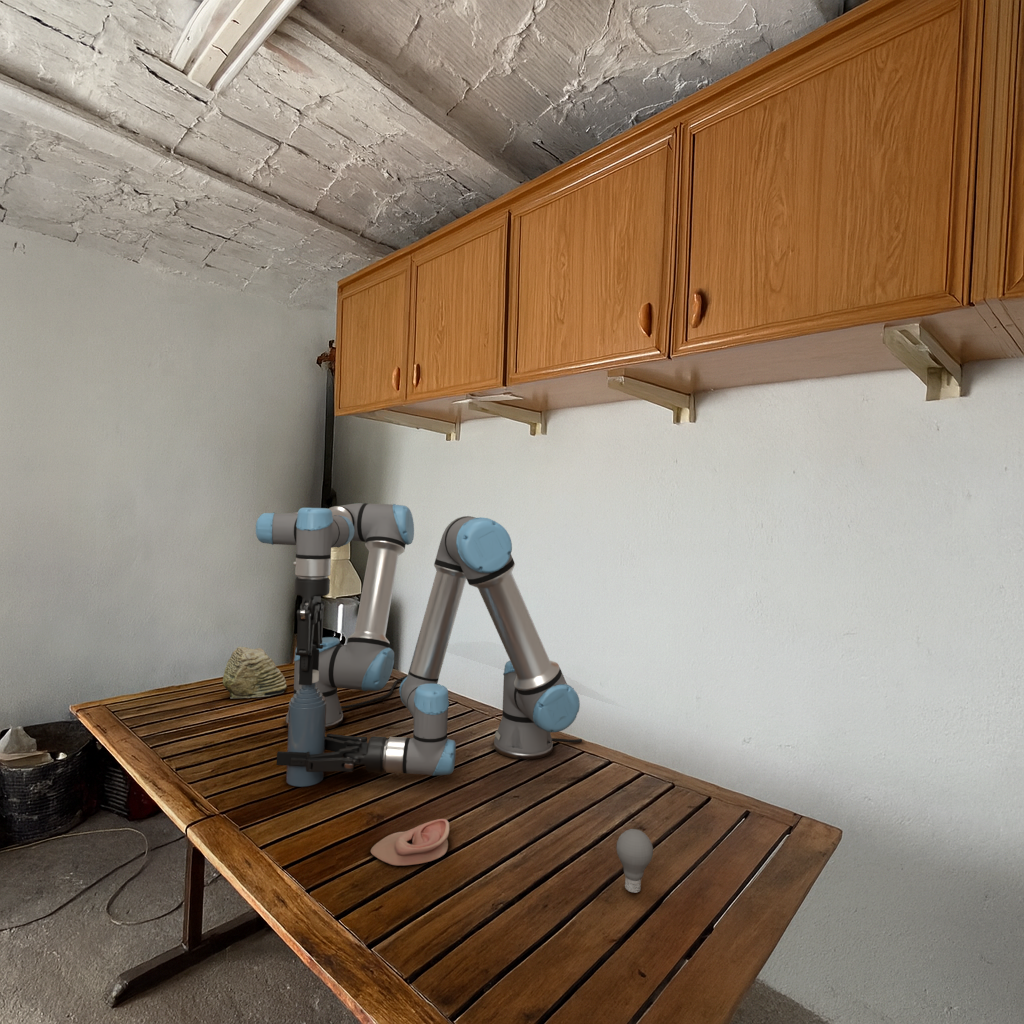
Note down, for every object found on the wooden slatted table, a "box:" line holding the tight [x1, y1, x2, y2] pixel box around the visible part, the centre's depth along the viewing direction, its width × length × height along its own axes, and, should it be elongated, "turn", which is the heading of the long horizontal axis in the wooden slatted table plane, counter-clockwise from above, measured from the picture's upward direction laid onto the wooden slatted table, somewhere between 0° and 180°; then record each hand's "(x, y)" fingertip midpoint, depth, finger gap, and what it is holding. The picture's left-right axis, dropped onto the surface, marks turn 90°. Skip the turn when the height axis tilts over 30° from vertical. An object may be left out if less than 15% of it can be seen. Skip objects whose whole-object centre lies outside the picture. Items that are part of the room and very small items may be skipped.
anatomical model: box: [370, 818, 450, 867], centre depth 115 cm, size 13×4×12 cm
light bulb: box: [615, 828, 654, 894], centre depth 106 cm, size 6×6×10 cm
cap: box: [312, 670, 319, 683], centre depth 141 cm, size 4×4×2 cm
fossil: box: [222, 646, 288, 699], centre depth 198 cm, size 9×18×15 cm, turn 132°
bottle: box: [285, 682, 326, 788], centre depth 142 cm, size 8×8×23 cm
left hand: (308, 681), depth 141 cm, fingers closed on cap, 4 cm apart
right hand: (284, 750), depth 142 cm, fingers closed on bottle, 8 cm apart
